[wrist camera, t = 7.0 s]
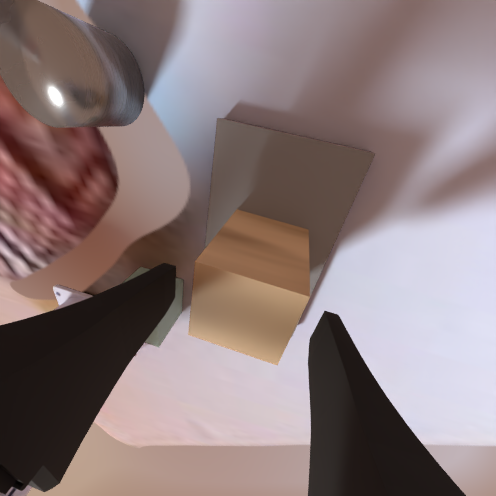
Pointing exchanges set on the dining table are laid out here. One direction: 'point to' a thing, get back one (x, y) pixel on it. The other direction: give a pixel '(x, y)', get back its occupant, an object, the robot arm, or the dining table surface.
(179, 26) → the dining table surface
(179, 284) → the olive green cube
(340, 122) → the dining table surface
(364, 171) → the slate board
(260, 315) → the oak block
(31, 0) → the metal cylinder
